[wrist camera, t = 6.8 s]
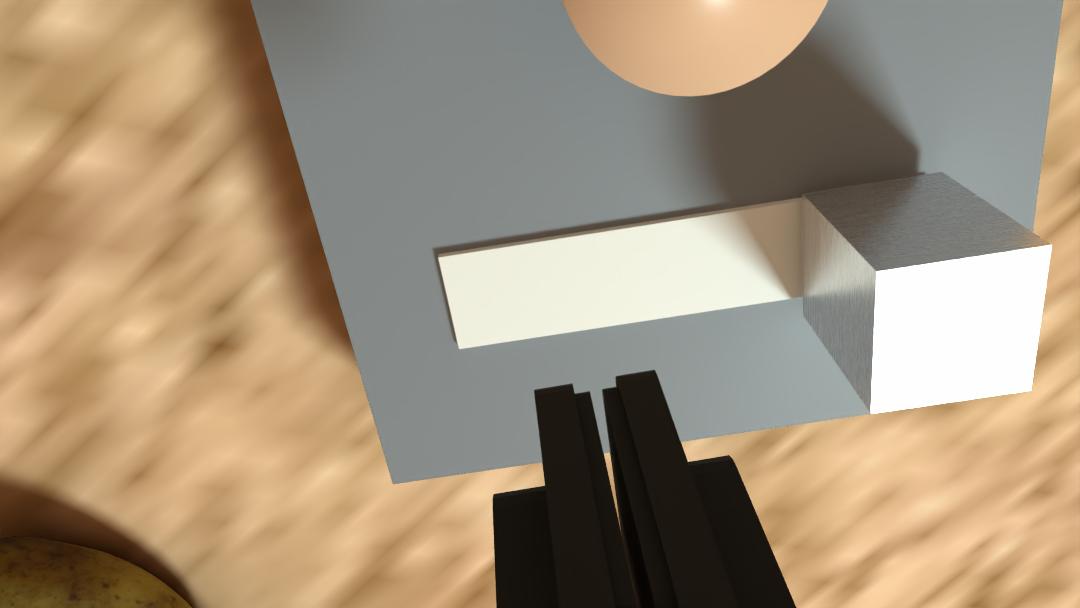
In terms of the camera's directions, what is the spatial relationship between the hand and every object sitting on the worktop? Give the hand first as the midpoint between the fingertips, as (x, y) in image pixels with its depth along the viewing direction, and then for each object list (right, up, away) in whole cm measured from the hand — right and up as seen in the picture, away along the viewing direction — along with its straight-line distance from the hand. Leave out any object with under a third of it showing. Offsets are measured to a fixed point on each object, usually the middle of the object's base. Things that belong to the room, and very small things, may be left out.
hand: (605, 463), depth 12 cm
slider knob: (+6, +3, +7) cm, 10 cm away
